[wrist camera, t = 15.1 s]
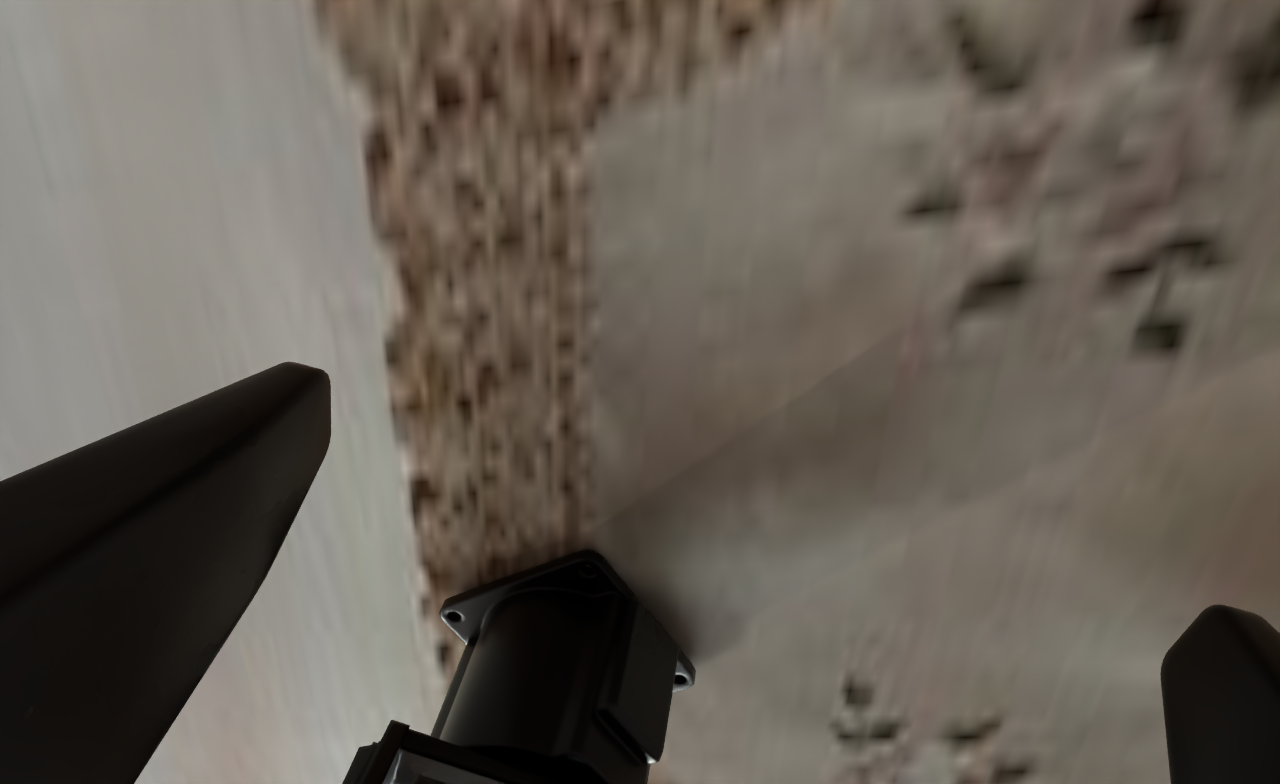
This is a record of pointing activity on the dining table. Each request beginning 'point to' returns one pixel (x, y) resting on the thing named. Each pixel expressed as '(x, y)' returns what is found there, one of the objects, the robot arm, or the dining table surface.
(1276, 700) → the robot arm
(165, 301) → the dining table surface
